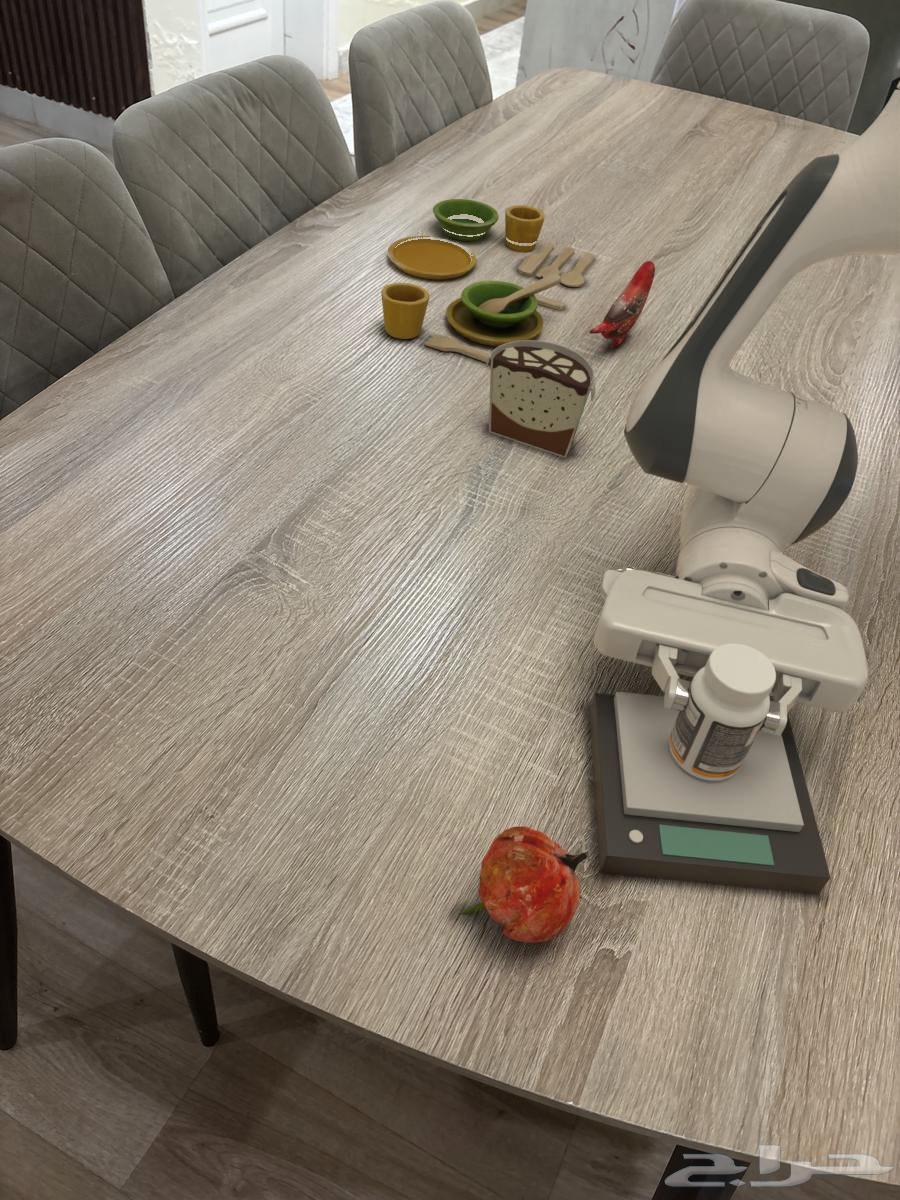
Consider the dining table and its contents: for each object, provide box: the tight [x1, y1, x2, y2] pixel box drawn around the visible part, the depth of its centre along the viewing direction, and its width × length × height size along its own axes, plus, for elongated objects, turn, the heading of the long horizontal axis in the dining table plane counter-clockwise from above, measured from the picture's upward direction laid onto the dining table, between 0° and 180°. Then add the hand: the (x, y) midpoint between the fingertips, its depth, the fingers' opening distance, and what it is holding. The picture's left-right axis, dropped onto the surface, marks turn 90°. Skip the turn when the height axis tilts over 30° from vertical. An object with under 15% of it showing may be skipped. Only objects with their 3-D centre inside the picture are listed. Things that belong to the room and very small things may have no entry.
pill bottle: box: [669, 644, 776, 781], centre depth 68 cm, size 6×6×10 cm
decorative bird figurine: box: [588, 260, 656, 351], centre depth 119 cm, size 3×18×10 cm, turn 147°
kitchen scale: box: [588, 691, 831, 895], centre depth 72 cm, size 16×15×4 cm
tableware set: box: [380, 198, 595, 363], centre depth 130 cm, size 41×28×6 cm
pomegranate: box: [459, 826, 591, 944], centre depth 63 cm, size 7×7×10 cm
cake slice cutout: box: [484, 339, 596, 459], centre depth 104 cm, size 12×6×10 cm, turn 65°
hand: (724, 716), depth 67 cm, fingers closed on pill bottle, 5 cm apart
